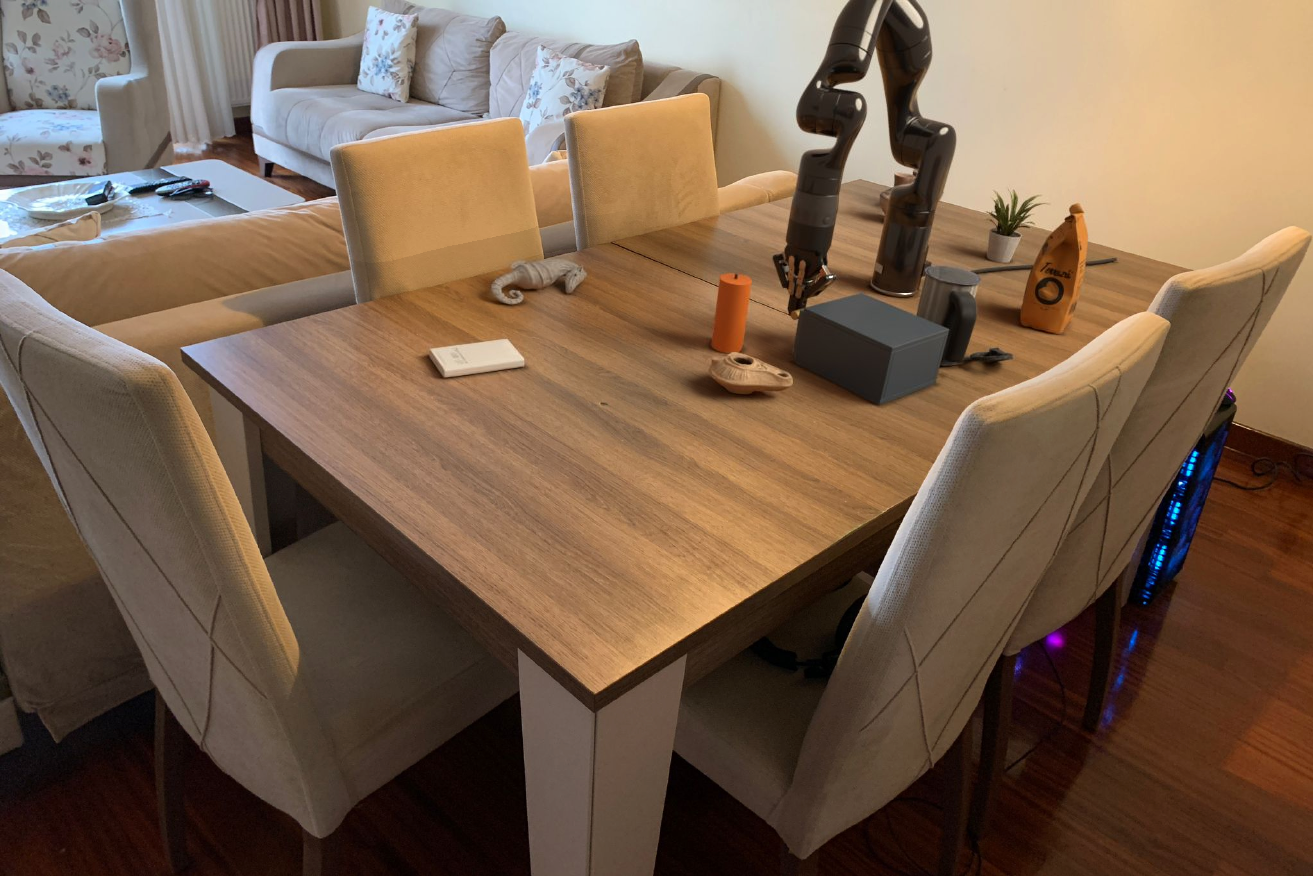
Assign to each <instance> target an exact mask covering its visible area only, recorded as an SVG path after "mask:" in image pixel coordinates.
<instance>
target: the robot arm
mask: <svg viewBox="0 0 1313 876" xmlns="http://www.w3.org/2000/svg"><path fill="white" fill-rule="evenodd" d="M875 52H876V58H877V62H878V66H879V70H880V75H881V79H882V80H881V81H882V85H883V86H882V87H883V91H884V92H883V93H884V98H885V105H886V112H887V113H886V114H887V126H888V138H889V148H890V152H891V156H892V158H893V159H894V161H895V162H896V163H898V165H901V166H903V167H904V168H905V167H906V168H908V169H912V170H914V169H916V170H918V172H917V175H916V178H915V180H914V182H913V183H912V184H907V185H899V186H895V187H894V186H893V187H894V188H892V187H891V188H892V190H891V192H890V196H889V201H888V205H887V210H886V215H885V214H884V218H885V220H884V219H883V225H882V230H881V235H880V238H879V244H878V249H877V253H876V259H875V263H874V268H873V272H872V278H871V280H870V284H869V285H870V287H871V289H872V290H874V291H876V292H877V293H880V294H883V295H885V296H889V297H897V298H898V297H899V298H909V297H914V296H915V295H917V294H918V291H919V290H920V286H921V282H922V278H925V275H926V273H925V269H926V268H927V267H930V266H932V264H933V263H932V261H929V260H927V258H928V253H929V249H930V245H929V241H930V237H931V234H932V233H931V232H932V228H933V225H934V219H935V215H936V211H937V207H938V205H939V202H940V201H939V199H940V197H941V195H942V193H943V191H944V190H945V188H946V184H947V181H948V177H949V174H950V170H951V168H952V167H951V166H952V163H953V160H954V157H955V153H956V149H957V141H958V139H957V132H956V129H955V127H954V126H953V125H951V124H949V123H947V122H942V121H938V120H934V119H930V118H926V117H923V115H922V113H921V112H920V111H921V110H920V107H919V99H918V92H919V89H920V88H921V85H922V83H923V81H924V79H925V78H926V75H928V72H929V69H930V67H931V64H932V61H933V57H934V56H933V55H934V54H933V53H934V51H933V41H932V36H931V28H930V24H929V19H928V16H927V14H926V11H924V9H923V8H922V6H921V4H920V3H919V2H918V1H917V0H848V1H847V2H846V3H845V5H844V6H843V8H842V9H841V11H840V13H839V14H838V16H837V17H836V20H835V22H834V25H833V28H832V31H831V35H830V37H829V41H828V44H827V47H826V51H825V53H824V56H823V58H822V61H821V63H820V65H819V66H818V69H817V70H816V72H815V73H814V75H813V77H812V78H811V80H810V81H809V82H808V84H807V86H806V87H805V88H804V90H803V91H802V93H801V95H800V98H799V99H798V102H797V105H796V109H795V120H796V124H797V125H798V128H799V129H800V130H801V131H802V132H804V133H807V134H811V135H812V134H813V135H818V136H823V137H829V138H836V140H835V143H834V145H833V146H832V147H830V148H815V149H814V148H813V149H809V150H805V152H803V153H802V155H801V157H800V161H799V166H798V171H797V176H796V177H797V178H796V185H795V188H794V193H793V196H792V200H791V205H790V210H789V216H788V223H787V228H786V234H785V243H786V246H785V247H784V250H783V251H782V252H780V253H777V254H773V255H772V261H773V264H774V268H775V270H776V274H777V276H778V279H779V282H780V285H781V287H782V289H786V290H787V293H788V295H789V297H788V303H787V315H788V316H789V317H791V312H792V311H796V310H800V309H803V308H806V307H807V304H808V299H810V298H815V297H818V296H819V295H820V294H821V293H823V292H824V291H825V290H826V289H827V288H829V286H831V285H832V284H833V283H834V282H835V281H837V275H836V274H835V273H831V272H830V270H829V268H828V267H827V266H828V263H829V260H828V252H829V250H830V248H831V247H832V242H833V237H834V232H835V226H836V221H837V216H838V211H839V203H840V192H841V187H842V183H843V177H844V171H845V167H846V164H847V161H848V158H849V155H850V153H851V151H852V148H853V146H854V144H855V142H856V140H857V138H858V136H859V134H860V132H861V130H862V128H863V127H864V125H865V121H866V118H867V115H868V104H867V100H866V98H865V96H864V95H863V94H862V93H860V92H858V91H855V90H849V89H842V88H837V86H839V85H844V84H852V83H857V82H860V81H862V80H863V79H864V78H865V77H866V76H867V73H868V71H869V69H870V65H871V62H872V59H873V55H874V53H875ZM943 194H944V193H943ZM940 200H941V199H940ZM938 201H939V202H938ZM1116 261H1118V258H1117V257H1112V258H1106V259H1105V258H1104V259H1099V260H1089V261H1086V265H1085V266H1090V265H1099V264H1106V263H1111V262H1116ZM1033 265H1034V264H1023V265H1006V266H997V267H996V266H995V267H987V268H986V267H985V268H979V269H974V270H970V271H971V272H973V273H975V274H981V273H988V272H999V271H1011V270H1025V269H1032V267H1033Z"/></svg>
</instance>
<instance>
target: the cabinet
mask: <svg viewBox="0 0 1313 876" xmlns="http://www.w3.org/2000/svg"><path fill="white" fill-rule="evenodd" d="M803 312H804V313H803V317H802V322H801V328H800V334H799V339H798V345H797V351H796V355H795V358H794V363H795V364H797V365H798V366H800V367H802V368H805V369H807V370H809V371H811V372H813V373H814V374H816V375H818V376H819V377H823V378H824V379H826V380H828V381H831V382H832V383H834V384H836V385H837V386H840V387H842V388H844V389H846V390H848V391H850V392H852V393H854V394H856V395H858V396H860V397H862V398H864V399H865V400H867V401H869V402H872V403H873V404H875V405H878V406H882V405H883V404H886V403H889V402H892V401H894V400H896V399H899V398H902V397H904V396H908V395H909V394H913V393H915V392H917V391H920V390H924V389H925V388H928V387H931V386H934V385H935V384H936V382H937V379H938V375H939V370H940V363H941V359H942V355H943V352H944V348H945V344H946V340H947V336H948V332H949V329H948V328H945V327H943V326H940V325H938V324H936V323H933V322H931V321H928V320H926V319H924V318H921V317H919V316H916V315H917V314H914V313H911V312H909V311H907V310H904V309H902V308H899V307H897V306H895V305H893V304H890V303H887V302H885V301H882V300H880V299H879V298H876V297H873V296H870V295H868V294H867V293H863V292H859V293H855V294H851V295H849V296H848V295H847V296H844V297H841V298H837V299H833V300H829V301H824V302H821V303H817V304H814V305H810V306H806V308H804V311H803Z"/></svg>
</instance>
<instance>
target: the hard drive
mask: <svg viewBox="0 0 1313 876" xmlns="http://www.w3.org/2000/svg"><path fill="white" fill-rule="evenodd" d="M428 356H429V359H430V360H431V361H432V363H433V364H434V365H435V367H436V369H437V370H438V372H439V373H440V374H441V376H442V377H443V378H444V379H445V378H453V377H460V376H467V375H476V374H482V373H488V372H495V371H502V370H509V369H516V368H523V367H525V357H524V356H523V355H522V354H521V353H520V352H519V351H518V349H516V347H515V346H514V345H513V344H512V342H511V341H510V340H509V339H508V338H501V339H494V340H488V341H487V340H486V341H479V342H471V343H464V344H457V345H448V346H441V347H433V348H428Z"/></svg>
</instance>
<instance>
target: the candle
mask: <svg viewBox="0 0 1313 876" xmlns="http://www.w3.org/2000/svg"><path fill="white" fill-rule="evenodd" d="M752 283H753V281H752V278H750V277H749V276H747V275H744V274H741V273H731V272H730V273H724V274H721V275H720V276H719V281H718V289H717V296H716V297H717V298H716V305H715V314H714V322H713V329H712V337H711V343H710V344H711V348H712V349H714V350H715V351H718V352H720V353H724V354H730V353H731V352H737V353H741V351H742V349H743V346H744V345H743V344H744V339H745V332H746V324H747V317H748V311H749V304H750V298H751V290H752Z"/></svg>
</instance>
